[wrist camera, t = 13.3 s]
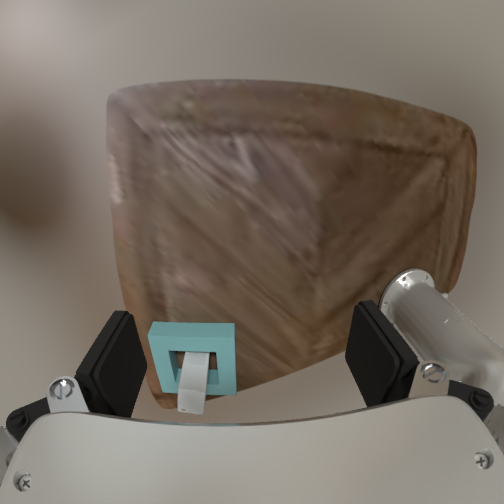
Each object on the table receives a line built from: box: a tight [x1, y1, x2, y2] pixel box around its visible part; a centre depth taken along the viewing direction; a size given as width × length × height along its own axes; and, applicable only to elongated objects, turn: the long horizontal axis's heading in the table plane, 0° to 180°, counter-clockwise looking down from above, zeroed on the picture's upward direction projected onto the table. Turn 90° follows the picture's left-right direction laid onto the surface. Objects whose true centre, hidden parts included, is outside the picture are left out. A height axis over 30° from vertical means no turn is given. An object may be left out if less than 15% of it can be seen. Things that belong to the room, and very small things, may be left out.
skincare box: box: [178, 351, 210, 415], centre depth 42 cm, size 6×4×12 cm
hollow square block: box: [148, 322, 236, 395], centre depth 46 cm, size 14×14×4 cm
